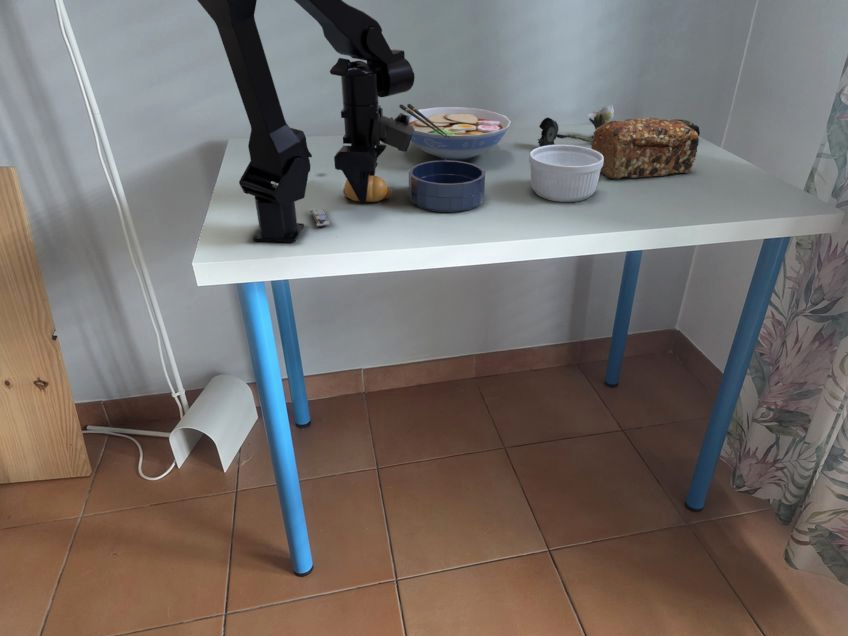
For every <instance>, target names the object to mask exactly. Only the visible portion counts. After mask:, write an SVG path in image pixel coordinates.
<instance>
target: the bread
mask: <svg viewBox="0 0 848 636" xmlns="http://www.w3.org/2000/svg"><path fill="white" fill-rule="evenodd" d="M591 141H592V143H591V148H590V149H593V150H595V151H597V152H599V153H601V154H602V155H603V157H604V162H603V166H602V168H601V171H600V173H602V174H603V175H605V176H606V177H608V178H609V179H616V180H617V179H618V180H620V179H621V178H623V177H627V178H634V179H635V178H636V179H637V178H649V177H665V176H667V175H673V174H678V173H679V174H682V173H683V174H687V173H689V172H690V171H691V170H692V168H693V166H694V165H693V164H694V163H695V161H696V157H697V153H698V147H699V142H700V139H699V136H698V134H697V132H696V131H694V129H692V128H690V127H689V126H687V125H686V124H684V123H683V122H681V121H677V120H673V119H668V118H658V117H657V118H656V117H641V118H639V117H638V118H634V119H631V118H630V119H629V118H628V119H625V120H610V121H609V122H606V123H605V124H603V125H601V126H600V127H598V128H597V129H595V130H594V131H593V138H592V140H591Z"/></svg>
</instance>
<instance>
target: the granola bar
mask: <svg viewBox="0 0 848 636" xmlns="http://www.w3.org/2000/svg"><path fill="white" fill-rule="evenodd" d="M309 213H310V214H311V215H312V217H313V219H314V220H315V223H316V227H327V226H329V225H331V222H330V221H329V218H328V217H327V216H326V213H325V212H324V209H323V208H315V209H311V210H309Z"/></svg>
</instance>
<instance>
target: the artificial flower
mask: <svg viewBox="0 0 848 636" xmlns="http://www.w3.org/2000/svg"><path fill="white" fill-rule="evenodd" d="M614 110H615V109H614V106H613V104H609V105H607V106H604V107H602V108H601V109H599V110H598V111H593V112H591V113H587V115H588V117H589V118H588V120H589V122H590V123H591V124H592V125H593V126H594V129H595V130H596V129H597V128H598V127H600V126H601V125H603V124H605V123H607V122H610V121H612V119H613V118H614V114H615V113H614ZM538 127H539V129H541V133H540V135H541V136H540V138H537V141H538V142H537V144H538V146H539V147H542V146H547V145H556V144H555V140H556V139H557V138H558V139H566V138H571V139H577V140H581V141H583V142H586V143H591V144H592V140H591V139H587V138H584V137H581V136H578V135H574V134H573V135H570V134H568V135H567V134H561V133H559V124H558V123H557V121H556V120H554V119H553V118H551V117H545V118H544V119H543V120H542V121H541V122H540V124H539V125H538Z"/></svg>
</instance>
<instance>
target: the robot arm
mask: <svg viewBox="0 0 848 636" xmlns="http://www.w3.org/2000/svg"><path fill="white" fill-rule="evenodd" d="M257 1H258V0H197V2H198V3H199V5H200V6H201V7H202V8H203V10H204V11H205V12H206V13H207V14H208V15H209V17H210V18H211V19H212V21H213V22H214V24H215V25H216V28H217V30H218V34H219V36H220V39H221V43H222V45H223V48H224V51H225V54H226V58H227V60H228V63H229V66H230V69H231V72H232V75H233V78H234V81H235V85H236V87H237V90H238V93H239V95H240V98H241V101H242V105H243V106H244V110H245V114H246V116H247V119H248V122H249V125H250V134H249V140H248V145H247V148H248V153H249V158H250V161H249V163H248V165H247V167H246V168H245V170H244V172H243V174H242V175H241V177H240V179H239V181H238V184H239V186H240V188H241V190H242V192H243V193H244V194H246V195H250V196H254V202H255V208H256V215H257V222H258V227H259V228H258V229H257V231H256V232H255V233H254V234H253V236H252V241H254V242H276V243H295V242H296V241H297V239H299V237H300V234H301V233H302V232H303V230H304V228H305V224H304V223H303V222H298V221H297V211H296V204H295V202H298V201H300V200H302V199H303V200H304V198H305V197H306V190H307V185H308V179H309V173H310V172H311V160H310V158H313V155H312V153H311V152H310V151H309V148H308V143H307V137H306V134H305V132H304V130H301V129H297V128H293V127H290V125H289V124H288V123H287V121H286V119H285V115H284V112H283V108H282V106H281V102H280V98H279V96H278V93H277V89H276V86H275V83H274V79H273V76H272V72H271V69H270V66H269V63H268V58H267V56H266V52H265V49H264V45H263V43H262V39H261V36H260V32H259V30H258V26H257V23H256V18H255V13H256V7H257ZM293 1H294V2H295V3H296V4H297V5H299V7H301V8H302V9H303V10H304V11H305V12H306V13H308V15H310V17H311V18H313V20H315V21H316V22H317V23H318V24H319V26H320V27H321V29H322V33H323V36H324V38H325V39H326V40H327V42H328V43H329V44H330V46H331V47H332V48H333V50H334V51H335V52H336V53H338V54H339V55H343V56H348V57H350V58H352V59H355V60H354V61H351V60H350V59H347V58H342V57H338V59H337V61H336V62H335V64H334V65H332V67H331V68H330V69H329V74H330V75H332V76H338V77H340V81H341V95H342V109H341V111H340V118H341V119H343V121H344V122H343V123H344V135H343V136H342V144H343V145H342V146H341V147H340V149H338V151H337V152H336V153H335V155H334V156H333V161H334V169H335V170H337V171H341V172H342V173H343V175H344V176H345V178H346V181H347V180H348V181H349V183H350V185H351V187H352V189H353V190H354V192H355V194H356V196H357V198H358V200H359V201H358V202H360V203H367V201H366V199H367V191H368V183H369V176H376V175H375V174H376V169H377V167H378V165H379V163H378V158H379V157H380V156H381V155H382V154H383V153H384V152H385V150H386V148H387V146H389V147H393V148H395V149H397V151H399V152H402V153H406V152H408V150H409V147H410V144H411V142H412V141H411V138H412V135H413V133H414V128H413V126H412V125H411V126H410V123H409V116H407V115H405V114H406V113H402V112H400V113H399V114H398V115H397V116H395V118H394V117H387V116H385V115H384V112H383V111H384V110H383V109H384V108H383V107H382V106H381V105H380V104H379V98H386V97H391V96H395V95H399V94H402V93H406V92H407V93H408V92H409V91H410V90H412V88H413V86H414V83H415V77H416V76H415V72H414V69H413V67H412V65H411V63H410V62H409V60H408V59H406V57H405V50H403V49H396V48H395V49H391V47H390V45H389V44H388V42H387V40H386V38H385V36H384V34H383V29H382V26H381V25H380V23H379V22H378V20H376V19H375V18H374V17H372V16H370V15H369V14H367V13H366V12H364V11H363V10H361V9H358V8H357V7H354V6H352V5H350V4H348V3H347V2H345V1H343V0H293ZM365 61H366V62H365ZM381 143H383V144H381ZM345 144H346V145H345Z"/></svg>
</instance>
